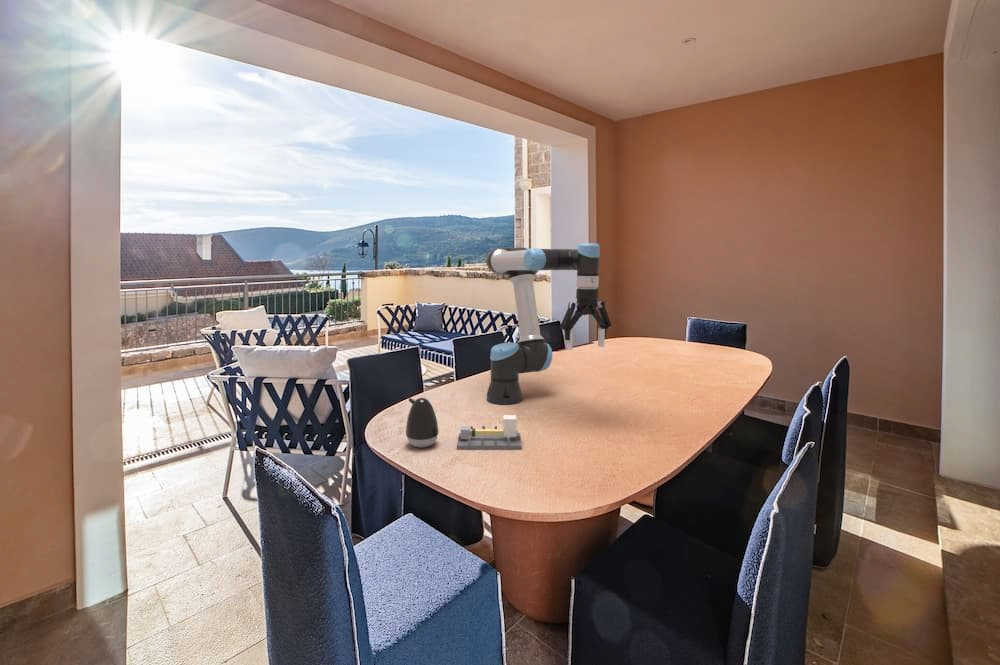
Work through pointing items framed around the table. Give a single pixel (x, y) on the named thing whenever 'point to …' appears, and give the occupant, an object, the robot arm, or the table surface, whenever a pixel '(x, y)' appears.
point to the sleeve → (509, 426)
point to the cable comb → (487, 439)
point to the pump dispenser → (421, 424)
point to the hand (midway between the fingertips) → (585, 347)
